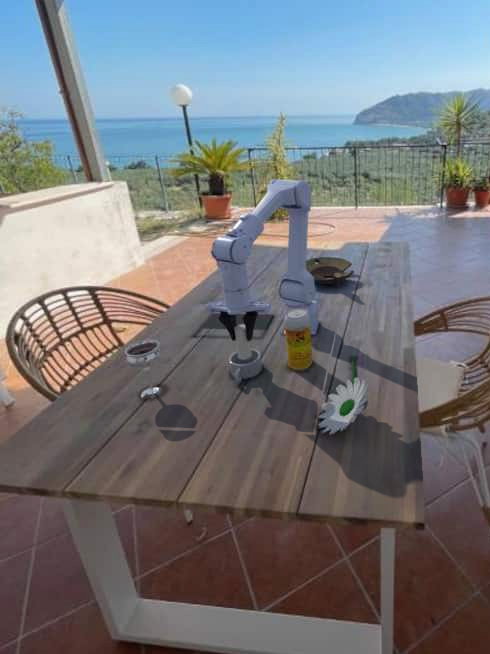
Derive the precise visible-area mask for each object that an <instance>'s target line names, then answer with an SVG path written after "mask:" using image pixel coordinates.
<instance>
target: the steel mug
mask: <svg viewBox="0 0 490 654" xmlns="http://www.w3.org/2000/svg"><path fill="white" fill-rule="evenodd" d="M251 353H252V356H251V357H250V358H248V359H245V360H241V359H239V358H238V352H237V350H236V351H235V352H233V353H232V354H230V356H229V357H228V363H229V370H230V375H231V376H232V377H233V378H234V381H235V385H236V386H239V385H240V384H241V382H242V381H243V380H245V379H249V378H253V377H255V376H257V375H258V374H259V373H260V372H261V371H262V369H263V365H262V358H261V357H262V356H261V352H260V351H259V350H258V349H255V348H251Z"/></svg>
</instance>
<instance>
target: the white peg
mask: <svg viewBox="0 0 490 654" xmlns="http://www.w3.org/2000/svg"><path fill="white" fill-rule="evenodd" d="M234 330H235V338H236V340H235V345H236V351H237V352H238V358H239V359H241V360H245V359H248V358H250V357H251V356H252V353H251V349H252V346H251V341H247V335H246V328H245V324H241V325H237V326H236V327H235V328H234Z"/></svg>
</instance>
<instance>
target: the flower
mask: <svg viewBox="0 0 490 654" xmlns="http://www.w3.org/2000/svg"><path fill="white" fill-rule="evenodd" d="M351 377H352V381H351V380H350V379H347V380H346V381H345V382H346V383H345V385H346V386H345V385H343V384H338V386H336V387H335V391H336V393H337V394H336V393H330V394H328V395H327V396H328V398H329V400H331V401H327V402H323V403H322V406H321V407H320V408H321V410H323V411H325V412H323V413H321V414H319V415H318V417H317V419H323V420H322V421H321V422H319V423H318V424H317V426H318V429H322V428H325V429H324V430H323V431H322V432H321V433H322V434H324V433H326V432H328V431H330V432H329V434H328V436H329V435H334V434H335V433H336V432H338V431H340V432H342V431H345V430H346V429H347V427H348V426H349V425H350V424H351V423H354V422H355V421H356V418H357V417H358V415H360V414H361V413H362V412H363V410H364V409H365V403H367V401H368V399H369V395H368V392H369V389H370V388H369V384H366V380H365V379H362V380H360V377H356V376H355V355H352V356H351Z"/></svg>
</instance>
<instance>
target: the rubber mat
mask: <svg viewBox="0 0 490 654" xmlns="http://www.w3.org/2000/svg"><path fill="white" fill-rule="evenodd" d="M245 314H246V313H238V314H236V325H241V324H244V321H243V317H244V315H245ZM219 316H220V313H211V315H210V316H209V317H208V318H207V320H206V321H205V322H204V323H203V324H202V325H201V326H200V327H199V329H198V330H197V331H196V332H195V333H194V334H193V336H192V337H194V338H195V337H197V336H198V334H199V333H200V332H201V331H202V330H227V329H226V327H225V326H224V325H223V324H222V323H221V322H220V321H219ZM273 317H274V314H260V313H258V315H257V318H256V321H255V325H254V330H253V331H266V330H267V328H268V327H269V324H270V323H271V321H272V319H273Z"/></svg>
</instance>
